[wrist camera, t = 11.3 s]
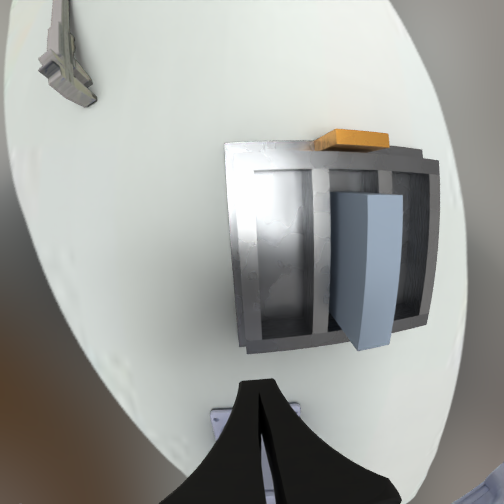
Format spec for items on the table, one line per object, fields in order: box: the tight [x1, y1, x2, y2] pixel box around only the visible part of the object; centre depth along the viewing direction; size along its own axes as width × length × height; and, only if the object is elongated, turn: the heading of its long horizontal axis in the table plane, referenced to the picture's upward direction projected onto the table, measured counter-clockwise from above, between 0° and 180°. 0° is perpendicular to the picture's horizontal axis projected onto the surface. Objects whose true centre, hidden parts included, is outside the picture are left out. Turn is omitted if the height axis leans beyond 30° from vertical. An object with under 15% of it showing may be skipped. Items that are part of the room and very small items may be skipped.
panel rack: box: [224, 129, 440, 354], centre depth 16 cm, size 14×15×5 cm
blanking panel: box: [329, 192, 403, 351], centre depth 15 cm, size 8×2×6 cm, turn 3°
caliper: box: [38, 0, 97, 107], centre depth 10 cm, size 21×1×6 cm, turn 24°
